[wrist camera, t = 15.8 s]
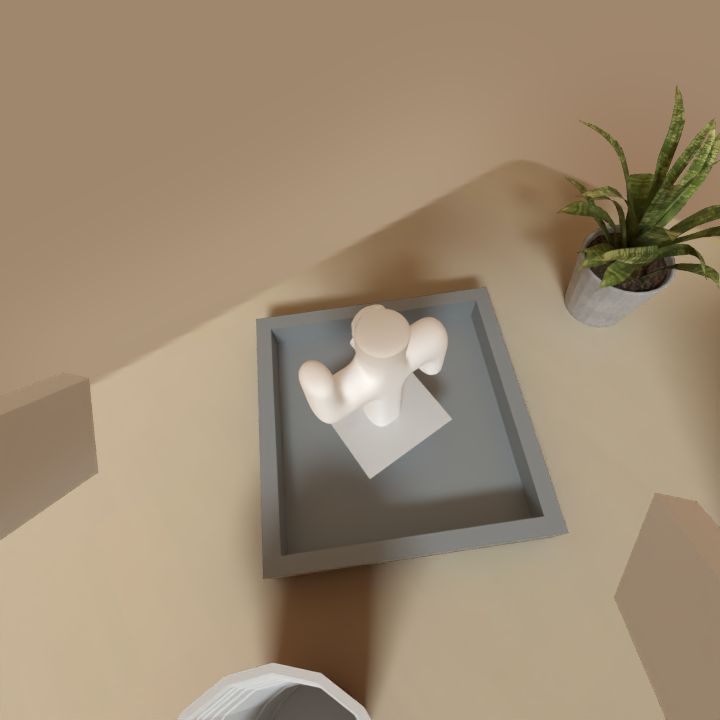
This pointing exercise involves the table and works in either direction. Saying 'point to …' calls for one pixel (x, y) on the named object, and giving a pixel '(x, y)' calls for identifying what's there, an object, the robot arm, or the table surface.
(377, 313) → the figurine
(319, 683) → the plastic cup
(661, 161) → the house plant
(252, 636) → the table surface
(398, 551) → the tray
